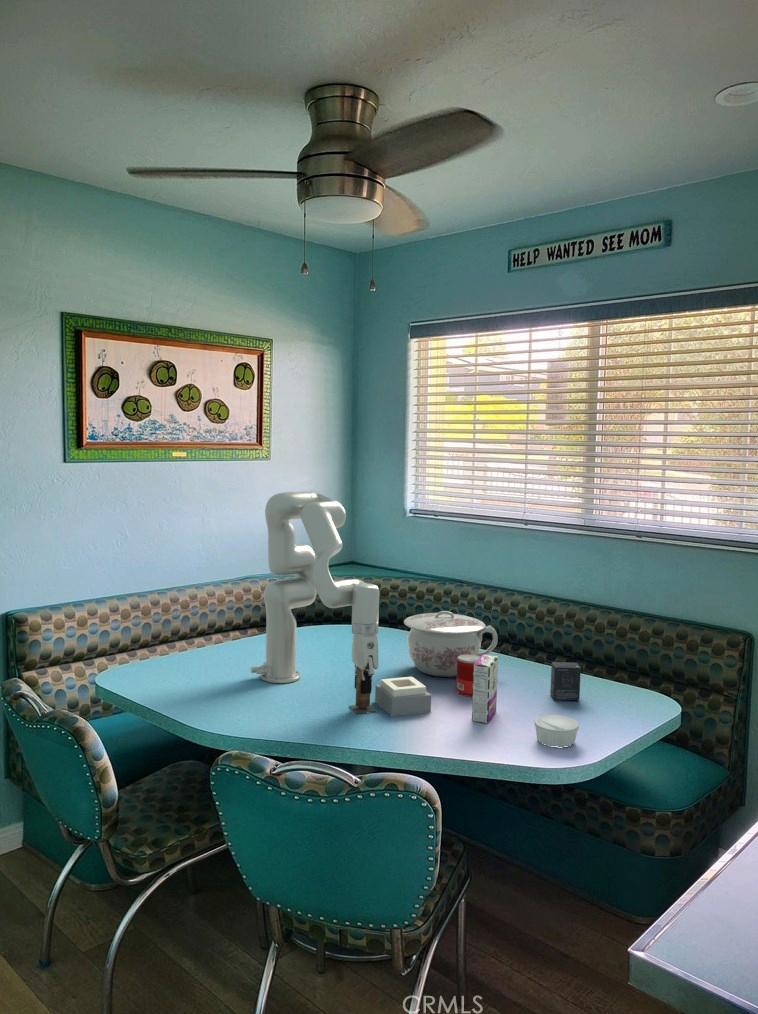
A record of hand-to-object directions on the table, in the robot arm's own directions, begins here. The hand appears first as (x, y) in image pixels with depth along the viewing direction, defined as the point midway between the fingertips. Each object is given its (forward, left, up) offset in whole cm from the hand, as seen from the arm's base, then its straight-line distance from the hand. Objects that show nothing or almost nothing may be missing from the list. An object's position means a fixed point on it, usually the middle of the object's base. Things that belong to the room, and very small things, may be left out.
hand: (362, 690), depth 223 cm
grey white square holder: (+12, -1, -6) cm, 13 cm away
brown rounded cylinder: (0, 0, -4) cm, 4 cm away
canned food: (+37, +5, -6) cm, 38 cm away
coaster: (0, 0, -6) cm, 6 cm away
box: (+63, -8, -6) cm, 64 cm away
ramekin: (+40, -37, -6) cm, 55 cm away
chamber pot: (+39, +27, -6) cm, 48 cm away
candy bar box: (+31, -15, -6) cm, 35 cm away
